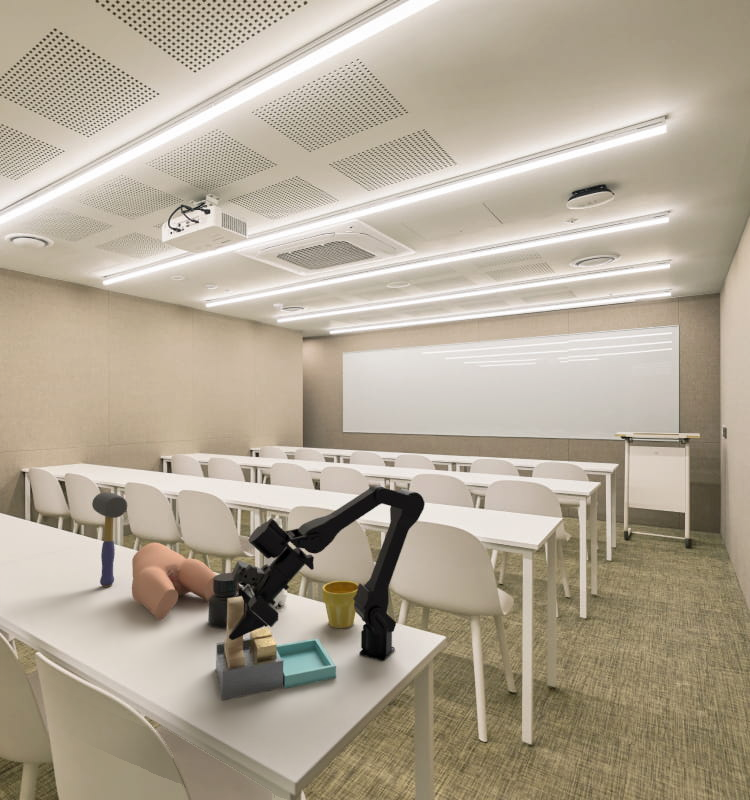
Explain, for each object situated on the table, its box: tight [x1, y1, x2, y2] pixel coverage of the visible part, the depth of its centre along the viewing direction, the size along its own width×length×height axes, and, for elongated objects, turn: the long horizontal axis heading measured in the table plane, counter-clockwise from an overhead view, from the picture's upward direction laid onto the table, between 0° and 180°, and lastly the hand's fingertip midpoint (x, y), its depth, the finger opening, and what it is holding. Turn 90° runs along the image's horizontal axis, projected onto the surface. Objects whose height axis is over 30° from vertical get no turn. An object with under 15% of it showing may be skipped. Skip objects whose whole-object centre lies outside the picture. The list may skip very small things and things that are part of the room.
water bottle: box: [262, 517, 289, 608], centre depth 144 cm, size 7×7×25 cm
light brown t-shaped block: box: [224, 596, 245, 668], centre depth 102 cm, size 3×9×12 cm, turn 23°
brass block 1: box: [249, 626, 273, 657], centre depth 107 cm, size 4×4×4 cm
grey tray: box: [215, 637, 284, 701], centre depth 103 cm, size 12×13×6 cm
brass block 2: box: [254, 636, 278, 663], centre depth 102 cm, size 4×4×4 cm
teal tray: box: [277, 638, 337, 689], centre depth 108 cm, size 11×14×2 cm
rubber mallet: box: [91, 491, 128, 588], centre depth 158 cm, size 12×8×30 cm, turn 48°
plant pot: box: [321, 580, 359, 629], centre depth 131 cm, size 10×10×10 cm
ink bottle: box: [207, 572, 240, 628], centre depth 132 cm, size 10×9×12 cm
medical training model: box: [131, 542, 217, 620], centre depth 146 cm, size 21×25×13 cm
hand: (228, 630), depth 102 cm, fingers open, 8 cm apart
